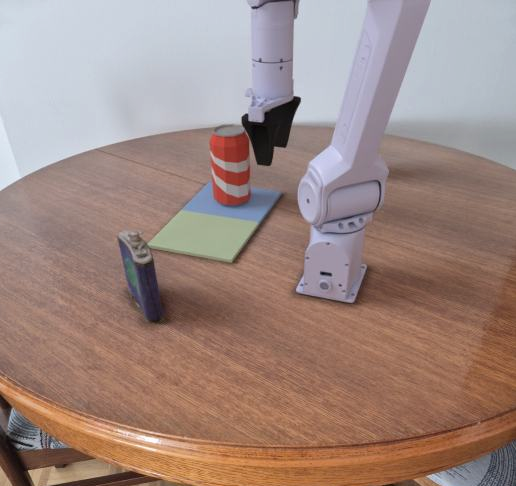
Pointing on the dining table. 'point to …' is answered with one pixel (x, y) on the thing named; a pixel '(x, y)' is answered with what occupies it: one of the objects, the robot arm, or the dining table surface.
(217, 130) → the beverage can
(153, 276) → the flask
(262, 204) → the sorting mat
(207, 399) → the dining table surface
